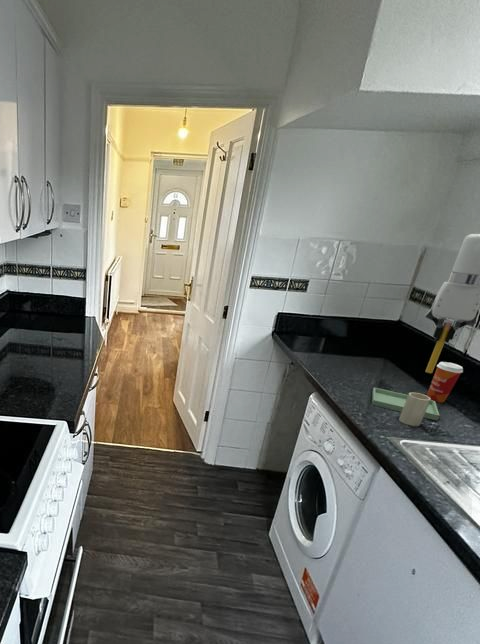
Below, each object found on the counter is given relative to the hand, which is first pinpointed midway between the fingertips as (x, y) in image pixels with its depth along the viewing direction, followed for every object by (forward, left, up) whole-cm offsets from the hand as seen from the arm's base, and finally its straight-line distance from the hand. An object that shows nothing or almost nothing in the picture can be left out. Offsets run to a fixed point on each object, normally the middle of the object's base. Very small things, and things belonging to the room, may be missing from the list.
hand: (441, 340), depth 126 cm
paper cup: (-10, -30, -29) cm, 42 cm away
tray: (+1, -15, -28) cm, 32 cm away
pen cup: (0, +1, -28) cm, 28 cm away
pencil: (0, 0, -11) cm, 11 cm away
